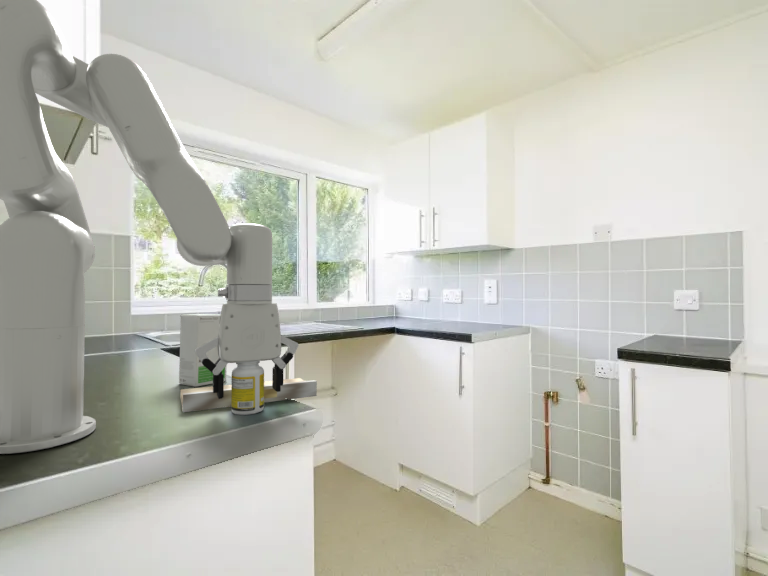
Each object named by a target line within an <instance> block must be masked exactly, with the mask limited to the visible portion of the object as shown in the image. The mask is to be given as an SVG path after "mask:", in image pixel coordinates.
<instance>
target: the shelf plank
mask: <svg viewBox="0 0 768 576" xmlns="http://www.w3.org/2000/svg"><path fill="white" fill-rule="evenodd" d="M317 382H318V381H317V380H316V379H315V380H313V379H312V380H304V379H302V378H301V377H296V378H287V379H284V378H283V385H282V386H281V390H280V392H277V391H275V390H274V389H273V387H272V380H264V403H271V402H279V401H287V399H288V400H296V399H304V398H312V397H317V396H318V395H317V391H318V390H317V387H318V386H317V385H318V383H317ZM179 392H180V403H181V410H182V413H188V412H196V411H205V410H213V409H222V408H229V407H230V408H232V384H224V395H223V398H222V399H219V398H218V396H217V393H213V385H212V386H204V387H195V388H194V387H192V388H184V389H183V388H182V389H180V391H179ZM285 398H287V399H285Z"/></svg>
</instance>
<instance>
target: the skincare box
mask: <svg viewBox="0 0 768 576" xmlns="http://www.w3.org/2000/svg"><path fill="white" fill-rule="evenodd" d="M220 316H221V313H218V314H214V313H200V314H199V313H196V314H195V313H194V314H193V313H191V314H190V313H187V314H186V313H185V314H180V316H179V317H180V330H179V331H180V334H179V336H180V337H179V371H178V383H179V385H183V386H189V387H193V388H194V387H195V388H198V387H200V386H205V385H213V373H212V372H211V371H210V370H208V369H207V368H206V367H205V366H204V365H203V364H202V362H201V361H200V359H199V357H198V356H197V354H196V352H195V349H196V348H198V347H199V346H201V345H203V344H205V343H207V342H209V341H210V340H212V339H214V338H216V337H218V333H219V322H220ZM206 355H207V357H208V358H209V360H211V361H212V362H213V363H215V362H216V361H217V360H218V359H219V355H218V346H216V347H215V348H213V349H211V350H209V351H208V352H207V353H206ZM227 366H228V364H227V365H226V366H225V367H224V369H223V370H222V374H223V375H224V382H226V381H227Z"/></svg>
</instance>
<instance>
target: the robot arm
mask: <svg viewBox="0 0 768 576" xmlns="http://www.w3.org/2000/svg"><path fill="white" fill-rule="evenodd" d="M150 81H151V80H149V77H147V74H146V73H145V72H144V71H143V70H142V68H141V67H140V66H139V65H138V64H137V63H136V62H135V61H133V60H132V59H130V58H129V57H127V56H125V55H121V54H117V53H104V54H101V55H99V56H97V57H95V58H94V59H93V60H91V62H89V64H88V63H86V62H85V61H84V60H81V59H80V58H77V57H75V55H72V54H71V50H70V49H69V46H68V44H67V41H66V39H65V36H64V34H63V31H62V30H61V28H60V26H59V25H58V23H57V21H56V20H55V18H54V17H53V16H52V15H51V13H50V11H49V10H48V9H47V8H46V7H45V6H44V5H42V3H40V1H38V0H0V200H2V201H3V203H4V206H5V209H6V212H7V215H8V218H7V219H6V220H4V221H3V222H2V223H1V225H0V455H5V454H6V455H8V454H9V455H10V454H20V453H27V452H28V453H29V452H34V451H40V450H44V449H50V448H54V447H57V446H61V445H66V444H69V443H72V442H74V441H78V440H80V439H82V438H84V437H87V436H89V435H90V434H91V433H93V432H94V431H95V429H96V428H97V421H96V418H93V417H91V416H88V415H84V390H85V388H84V387H85V386H84V385H85V380H84V378H85V342H86V341H85V336H86V330H85V329H86V324H85V323H86V317H85V316H86V293H85V292H86V291H85V290H86V289H85V273H86V272H87V271H88V270H89V269H90V268H91V266H92V265H93V263H94V260H95V257H96V249H95V244H94V240H93V237H92V233H91V231H90V230H91V229H90V227H89V224H88V220H87V217H86V213H85V210H84V207H83V204H82V200H81V196H80V193H79V190H78V187H77V185H76V182H75V180H74V177H73V175H72V174H71V172H70V171H69V169H68V167H66V165H65V164H64V163H63V161H62V160H61V158H60V157H59V155H58V154H57V153H56V151H55V149H54V146H53V144H52V141H51V137H50V136H49V133H48V130H47V126H46V123H45V121H44V116H43V111H42V107H41V104H40V102H39V100H38V97H37V95H38V96H41V97H43V98H44V99H46V100H49V101H50V102H53V103H54V104H56V105H59V106H61V107H63V108H65V109H67V110H70V111H72V112H73V113H75V114H78V115H79V116H81V117H84V118H86V119H87V120H91V121H93V122H94V123H96V124H98V125H101V126H103V127H105V128H106V127H107V128H108V129H109V131H110V133H111V135H112V137H113V138H114V140H115V142H116V144H117V145H118V148H119V149H120V151H121V153H122V155H123V157H124V159H125V160H126V163H127V164H128V166H129V168H130V170H131V172H132V173H133V174H134V176H135V177H136V178H138V179H139V181H141V182H142V183H143V184H144V185H145V186H146V188H148V189H147V190H149V191H150V193H151V194H152V196H153V198H154V199H155V201H156V203H157V204H158V206H159V208H160V209H161V211H162V213H163V215H164V217H165V219H166V220H167V222H168V225H169V226H170V228H171V230H172V232H173V234H174V235H175V237H176V248H177V251H178V253H179V255H180V256H181V257H182V259H183V260H185V261H186V262H187V263H189V264H191V265H194V266H200V267H201V266H202V267H205V266H207V267H208V266H217V265H218V266H219V265H226V266H227V267H226V286H224V287H222V288H217V297H222V298H224V299H225V300H226V303H222V306H221V311H220V314H221V316H220V322H219V333H218V337H216V338H214V339H212V340H210V341H209V342H207V343H205V344H203V345H201V346H199V347H198V348H196V349H195V352H196V354H197V356H198V357H199V359H200V361H201V362H202V364H203V365H204V366H205V367H206V368H207V369H208V370H210V371H211V372H212V373H213V383H212V386H213V393H217V396H218V398H219V399H222V398H223V395H224V385H225V384H224V382H225V381H224V375H223V374H222V370H223V369H224V367H225V366H226V365H227V366H228V364H236V363H240V362H253V361H260V362H262V361H272V362H273V364H274V366H273V367H272V373H271V374H272V380H271V381H272V387H273V389H274V390H275V391H277V392H280V390H281V386H282V385H283V380H284V370H285V369H286V366H287V365H288V364H289V363H290V362H291V360H293V358H294V355H295V354H296V352H297V350H298V348H299V343H298V342H297V341H294V340H292V339H290V338H288V337H287V336H284V335H282V334H281V320H280V315H279V307H278V304H277V303H276V302H273V233H272V230H271V229H270V227H268V226H266V225H262V224H259V223H236V224H232V225H231V226H229V224H228V222H227V220H226V217H225V215H224V214H223V212H222V209H221V208H220V206H219V203H218V202H217V199H216V198H215V195H214V194H213V192H212V191H211V189H210V187H209V184H208V183H207V182H206V180H205V178H204V176H203V175H202V174H201V172H200V170H198V168H197V166H196V164H195V162H194V161H193V160H192V158H191V157H190V155H189V154H188V152H187V150H186V149H185V146H184V145H183V143H182V141H181V140H180V137H179V136H178V134H177V132H176V130H175V128H174V127H173V124H172V123H171V120H170V118H169V116H168V114H167V112H166V111H165V108H164V107H163V104H162V102H161V100H160V99H159V96H158V95H157V93H156V91H155V89H154V87H153V84H152V83H151V82H150ZM282 344H283V345H285V346H287V349H286V352H285V353H284V354H283V355H282V356H281V354H282ZM216 346H218V355H219V359H218V360H217V361H216V362H215V363H213V362H212V361H211V360H209V358H208V357H207V355H206V353H207V352H208V351H209V350H211V349H213V348H215V347H216ZM280 356H281V357H280Z"/></svg>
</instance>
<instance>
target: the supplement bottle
mask: <svg viewBox="0 0 768 576" xmlns="http://www.w3.org/2000/svg"><path fill="white" fill-rule="evenodd" d="M260 362H261V361H253V362H240V363H235V364H236V365H237V366H236V367H234V368H233V369H232V370H231V385H232V406H231V413H233V414H234V415H240V416H248V415H254V414H255V415H256V414H257V413H260V412H262V411H263V410H264V409H265V408H264V407H265V402H264V381H265V369H264V368H263V367H262V366H261V365H260Z"/></svg>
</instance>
